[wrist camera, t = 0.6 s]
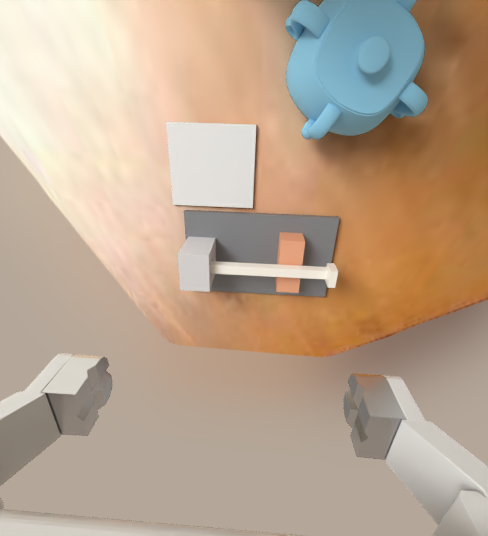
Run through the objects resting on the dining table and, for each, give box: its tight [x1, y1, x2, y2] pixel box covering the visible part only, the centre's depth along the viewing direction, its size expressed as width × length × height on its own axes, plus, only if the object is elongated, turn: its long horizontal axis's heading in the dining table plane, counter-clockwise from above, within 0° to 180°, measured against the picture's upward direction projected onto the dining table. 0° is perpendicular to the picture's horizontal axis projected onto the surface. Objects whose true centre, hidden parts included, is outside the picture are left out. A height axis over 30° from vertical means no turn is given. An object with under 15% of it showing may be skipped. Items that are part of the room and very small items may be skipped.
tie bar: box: [210, 261, 338, 288], centre depth 49 cm, size 3×24×3 cm, turn 89°
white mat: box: [166, 122, 256, 208], centre depth 49 cm, size 13×14×1 cm
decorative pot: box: [285, 0, 428, 140], centre depth 36 cm, size 16×16×14 cm
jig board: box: [177, 210, 339, 297], centre depth 52 cm, size 16×27×9 cm, turn 88°
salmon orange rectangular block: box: [275, 232, 305, 293], centre depth 53 cm, size 10×4×4 cm, turn 178°
